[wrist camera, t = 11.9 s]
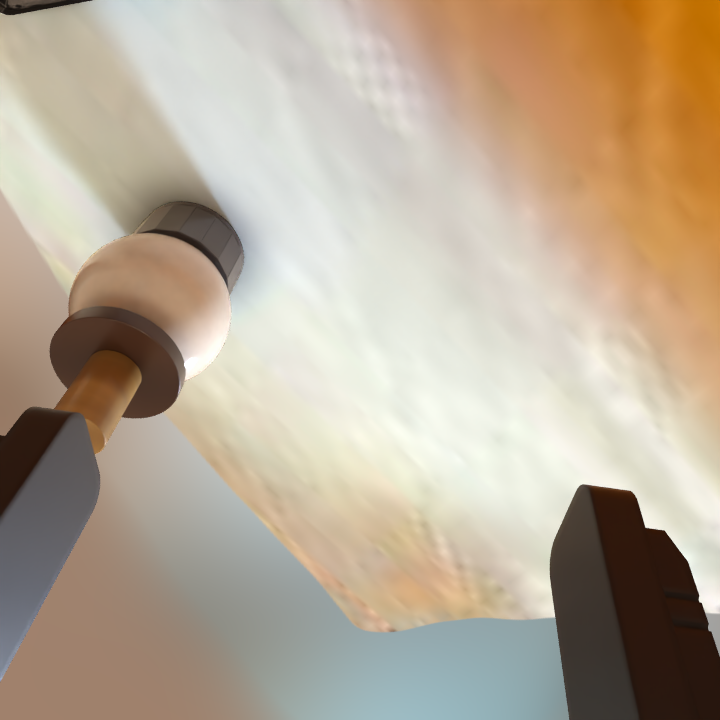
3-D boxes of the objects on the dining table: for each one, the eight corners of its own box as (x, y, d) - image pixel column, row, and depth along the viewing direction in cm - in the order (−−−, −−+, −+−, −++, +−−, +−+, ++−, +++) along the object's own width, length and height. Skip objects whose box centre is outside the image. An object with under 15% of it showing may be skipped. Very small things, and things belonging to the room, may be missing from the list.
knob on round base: (45, 297, 32) (-19, 369, 28) (179, 314, 32) (137, 389, 27) (73, 398, 36) (22, 473, 32) (191, 413, 36) (156, 491, 32)
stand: (134, 194, 41) (109, 222, 38) (242, 208, 41) (225, 237, 38) (148, 287, 46) (126, 319, 42) (245, 300, 45) (230, 332, 42)
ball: (97, 197, 38) (18, 274, 31) (245, 216, 38) (199, 298, 31) (120, 320, 44) (57, 409, 37) (249, 337, 44) (211, 430, 37)
